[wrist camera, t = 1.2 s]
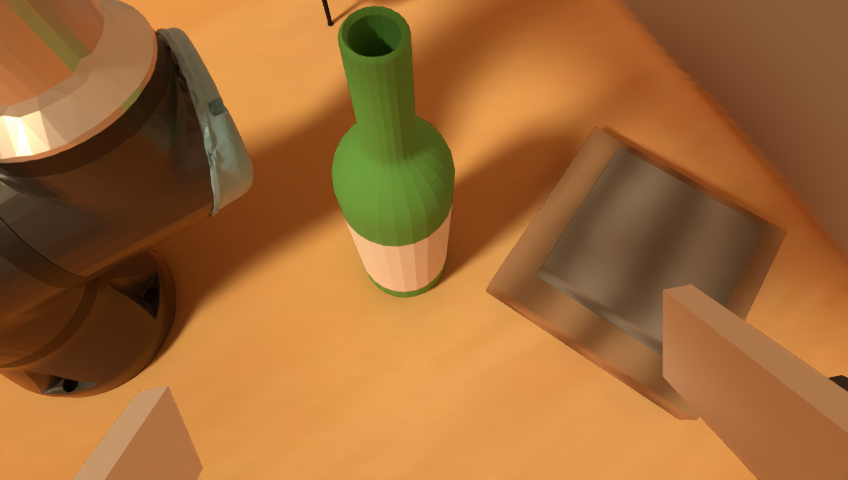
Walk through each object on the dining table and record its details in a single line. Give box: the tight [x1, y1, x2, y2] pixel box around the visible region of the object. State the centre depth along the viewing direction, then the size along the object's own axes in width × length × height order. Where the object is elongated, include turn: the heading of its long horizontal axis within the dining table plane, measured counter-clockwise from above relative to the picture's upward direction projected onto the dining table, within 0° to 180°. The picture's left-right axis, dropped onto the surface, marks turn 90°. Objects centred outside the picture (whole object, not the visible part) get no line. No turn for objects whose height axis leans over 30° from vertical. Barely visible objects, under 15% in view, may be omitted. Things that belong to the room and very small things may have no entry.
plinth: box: [486, 127, 787, 420], centre depth 44 cm, size 20×20×6 cm
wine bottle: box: [332, 6, 455, 297], centre depth 33 cm, size 8×8×30 cm
